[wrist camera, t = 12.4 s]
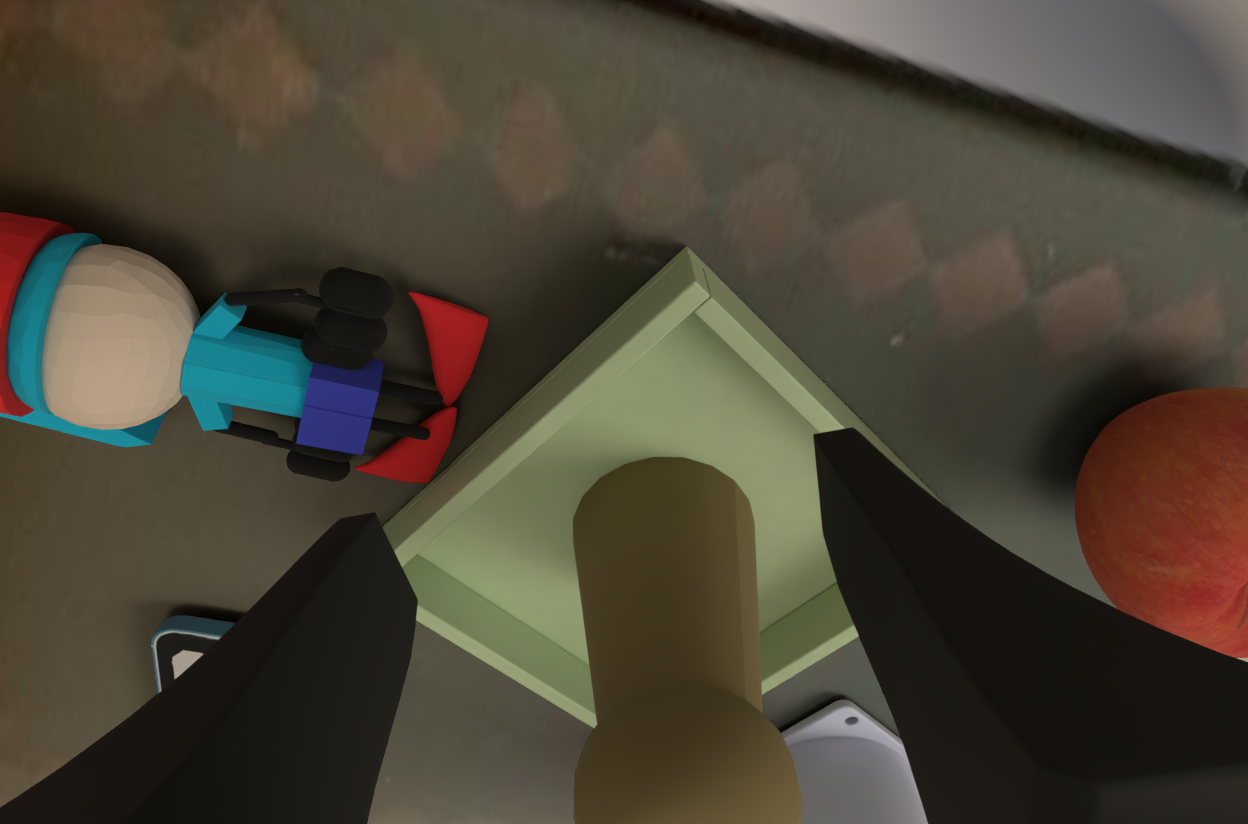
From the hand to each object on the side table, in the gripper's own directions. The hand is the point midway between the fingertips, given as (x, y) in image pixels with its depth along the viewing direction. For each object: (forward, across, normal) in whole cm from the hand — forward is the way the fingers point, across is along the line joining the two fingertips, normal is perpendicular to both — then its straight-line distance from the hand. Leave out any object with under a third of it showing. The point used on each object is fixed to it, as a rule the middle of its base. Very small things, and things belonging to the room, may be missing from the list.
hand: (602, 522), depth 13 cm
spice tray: (+10, 0, +9) cm, 14 cm away
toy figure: (+11, +11, -1) cm, 16 cm away
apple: (+11, -16, +9) cm, 21 cm away
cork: (+10, 0, +9) cm, 13 cm away
